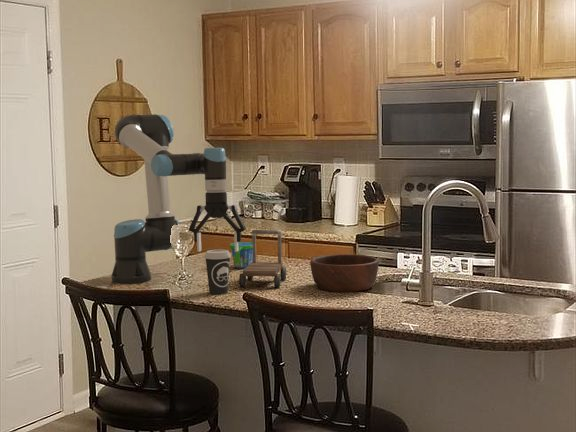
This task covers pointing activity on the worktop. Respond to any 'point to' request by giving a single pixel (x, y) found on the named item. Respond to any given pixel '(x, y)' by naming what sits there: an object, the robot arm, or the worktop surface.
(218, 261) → the coffee cup
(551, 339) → the worktop surface
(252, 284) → the worktop surface
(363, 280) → the wooden bowl
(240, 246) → the snack cup
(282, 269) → the trolley
